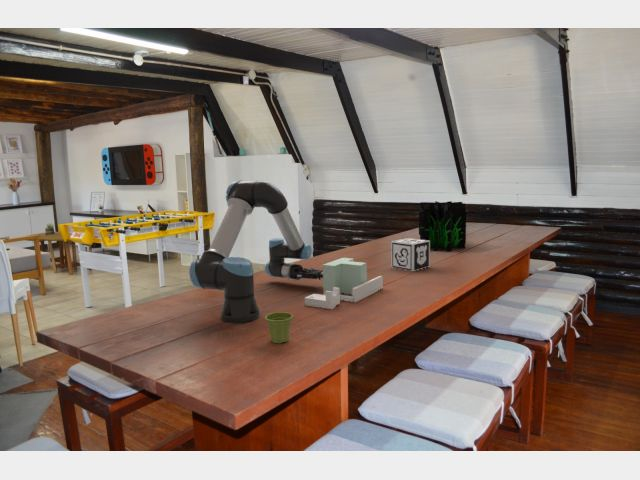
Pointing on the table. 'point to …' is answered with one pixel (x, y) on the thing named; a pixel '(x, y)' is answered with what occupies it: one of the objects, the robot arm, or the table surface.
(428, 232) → the decorative plant
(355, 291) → the white u channel
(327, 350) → the table surface
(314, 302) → the bracket
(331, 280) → the t block
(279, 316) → the plant pot
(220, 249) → the robot arm
